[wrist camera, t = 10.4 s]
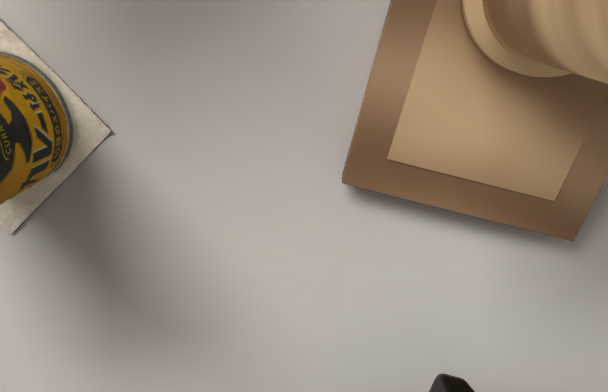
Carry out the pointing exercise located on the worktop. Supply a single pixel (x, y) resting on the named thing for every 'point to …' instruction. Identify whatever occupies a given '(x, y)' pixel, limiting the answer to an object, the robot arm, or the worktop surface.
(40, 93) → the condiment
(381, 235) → the worktop surface
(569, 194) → the walnut board
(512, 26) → the wooden chess pawn
